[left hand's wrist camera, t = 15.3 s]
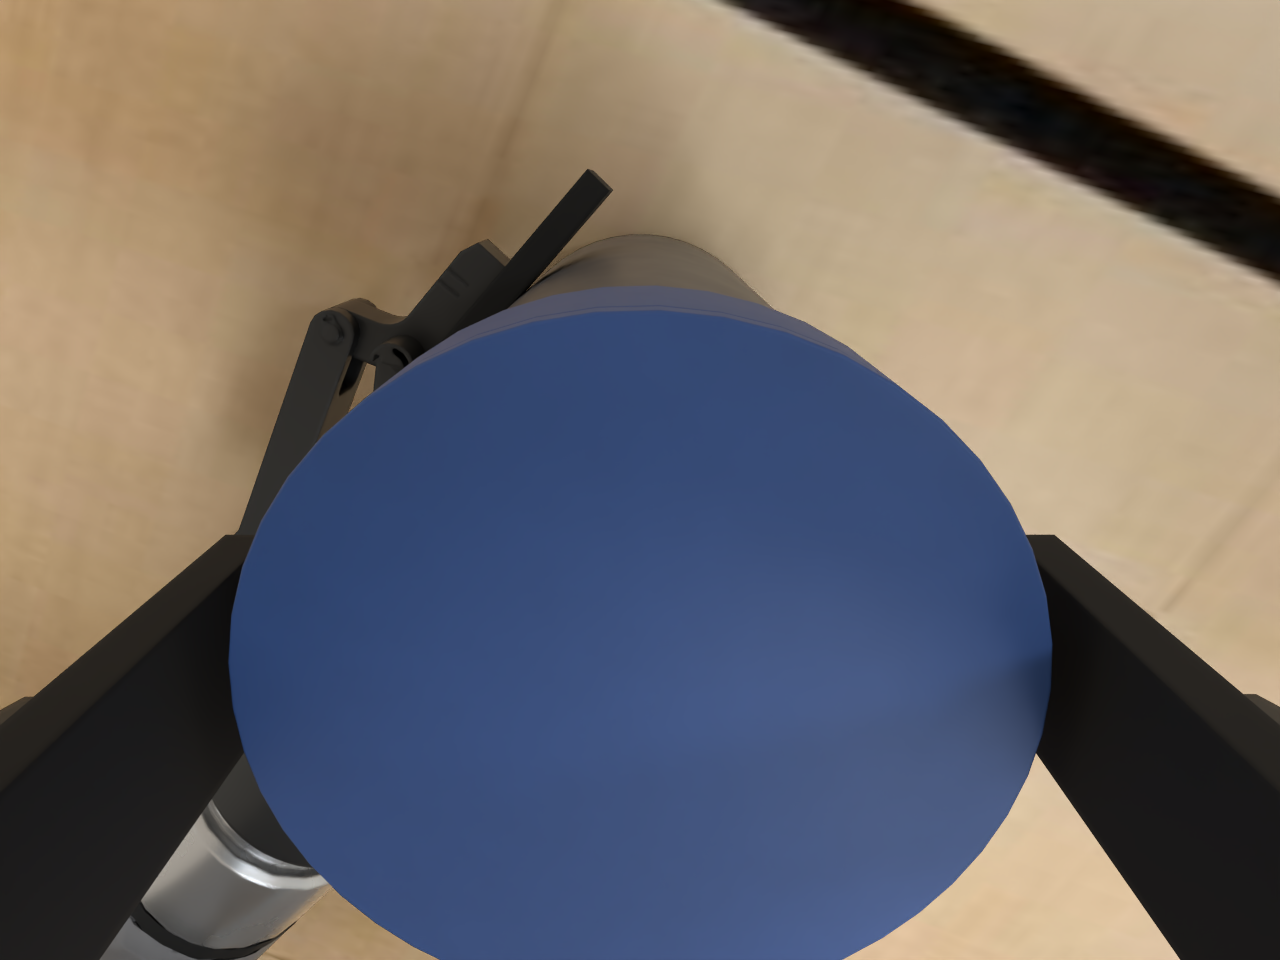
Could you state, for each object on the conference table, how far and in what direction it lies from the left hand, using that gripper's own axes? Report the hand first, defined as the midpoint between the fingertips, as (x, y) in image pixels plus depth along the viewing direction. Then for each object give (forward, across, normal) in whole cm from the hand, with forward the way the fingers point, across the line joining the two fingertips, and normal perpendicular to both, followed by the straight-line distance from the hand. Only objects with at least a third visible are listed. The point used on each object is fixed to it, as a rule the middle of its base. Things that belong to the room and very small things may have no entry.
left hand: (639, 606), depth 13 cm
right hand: (+11, -3, -3) cm, 12 cm away
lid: (-3, 0, 0) cm, 3 cm away
